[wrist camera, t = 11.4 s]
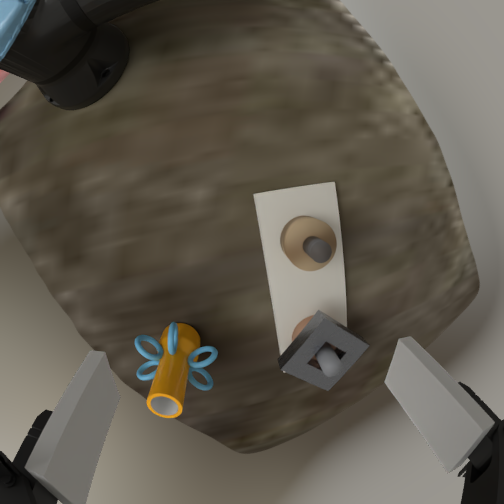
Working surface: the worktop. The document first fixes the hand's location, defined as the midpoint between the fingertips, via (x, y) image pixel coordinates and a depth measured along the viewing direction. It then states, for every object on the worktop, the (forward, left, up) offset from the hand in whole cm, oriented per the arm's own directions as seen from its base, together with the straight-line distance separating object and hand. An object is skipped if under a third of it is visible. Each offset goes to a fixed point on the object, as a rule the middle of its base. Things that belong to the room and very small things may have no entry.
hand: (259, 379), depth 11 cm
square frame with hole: (+16, +9, -22) cm, 29 cm away
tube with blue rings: (+13, -11, -28) cm, 32 cm away
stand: (+1, +9, -26) cm, 28 cm away
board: (+8, +9, -28) cm, 30 cm away
